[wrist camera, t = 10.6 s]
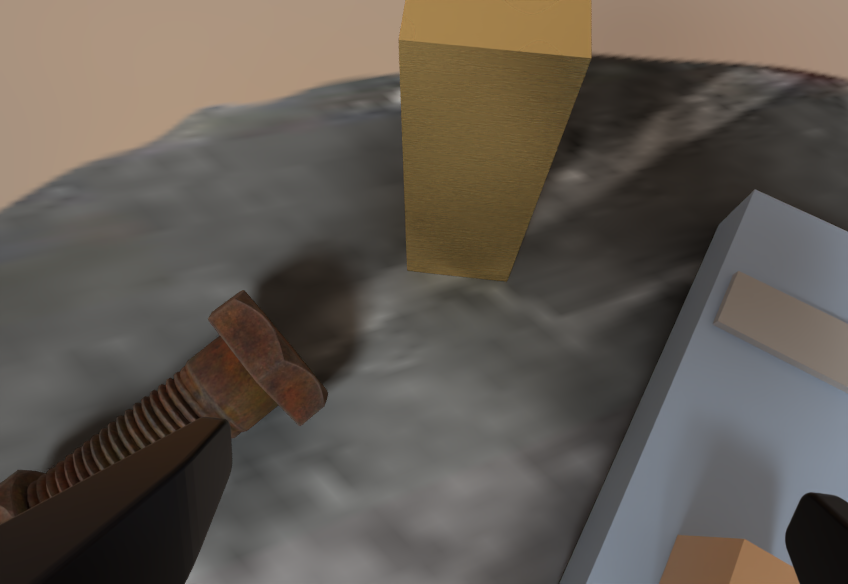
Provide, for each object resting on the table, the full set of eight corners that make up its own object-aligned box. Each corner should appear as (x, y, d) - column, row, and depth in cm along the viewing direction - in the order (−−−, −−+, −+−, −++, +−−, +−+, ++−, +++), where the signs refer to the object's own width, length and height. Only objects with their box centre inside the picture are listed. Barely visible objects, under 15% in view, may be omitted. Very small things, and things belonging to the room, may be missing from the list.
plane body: (739, 717, 19) (908, 820, 12) (552, 597, 20) (618, 634, 14) (868, 295, 25) (1028, 216, 18) (718, 224, 26) (818, 126, 20)
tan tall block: (506, 281, 25) (591, 58, 13) (407, 270, 25) (398, 39, 13) (510, 214, 26) (591, -46, 14) (416, 204, 26) (416, -62, 14)
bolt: (-13, 600, 22) (297, 352, 25) (-12, 728, 18) (350, 418, 21) (-172, 548, 18) (222, 262, 21) (-211, 698, 14) (271, 325, 17)
